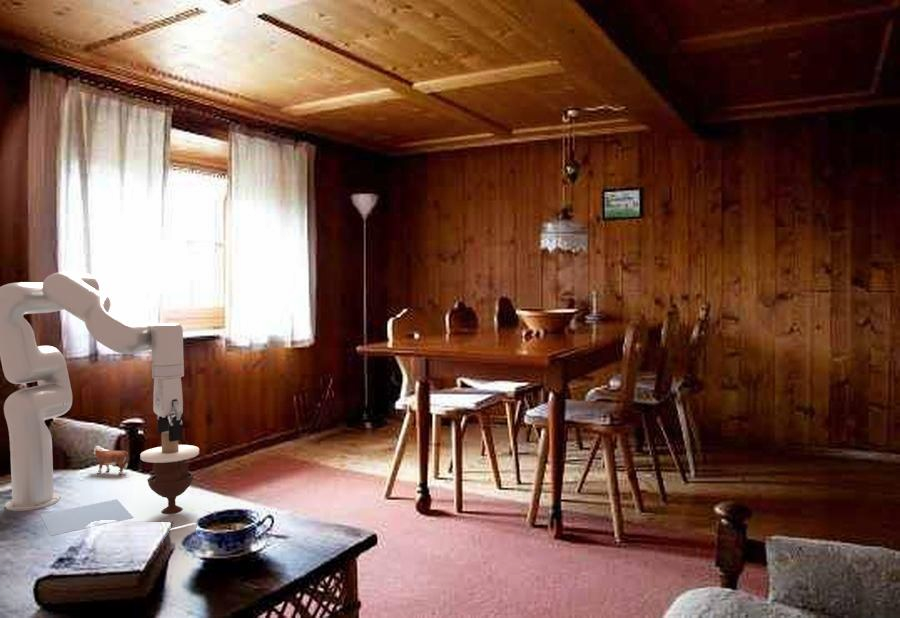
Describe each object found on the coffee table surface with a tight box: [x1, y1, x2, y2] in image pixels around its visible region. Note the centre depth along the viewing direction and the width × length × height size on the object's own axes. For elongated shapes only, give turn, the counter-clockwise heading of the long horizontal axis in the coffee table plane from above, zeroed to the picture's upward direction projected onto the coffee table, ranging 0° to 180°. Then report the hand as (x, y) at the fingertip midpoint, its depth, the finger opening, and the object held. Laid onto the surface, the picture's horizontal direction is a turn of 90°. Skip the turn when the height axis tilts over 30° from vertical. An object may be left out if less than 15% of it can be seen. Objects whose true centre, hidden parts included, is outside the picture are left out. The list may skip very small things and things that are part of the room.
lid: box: [139, 431, 200, 464], centre depth 169 cm, size 14×14×6 cm
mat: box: [39, 498, 134, 537], centre depth 166 cm, size 18×18×1 cm
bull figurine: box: [90, 445, 129, 475], centre depth 205 cm, size 4×13×8 cm, turn 73°
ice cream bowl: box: [147, 460, 195, 515], centre depth 169 cm, size 11×11×15 cm
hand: (169, 437), depth 169 cm, fingers open, 9 cm apart
